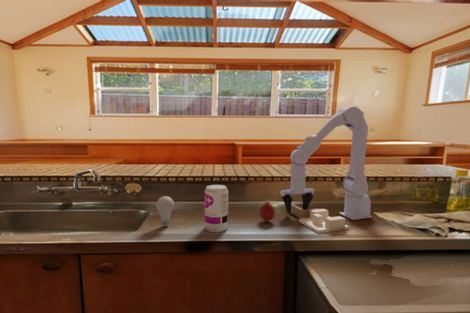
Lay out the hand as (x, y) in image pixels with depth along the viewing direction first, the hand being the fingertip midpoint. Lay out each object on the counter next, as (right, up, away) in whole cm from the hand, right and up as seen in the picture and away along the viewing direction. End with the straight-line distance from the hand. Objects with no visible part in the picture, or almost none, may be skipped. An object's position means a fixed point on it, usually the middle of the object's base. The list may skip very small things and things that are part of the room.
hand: (296, 211), depth 105 cm
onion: (-13, -2, -8) cm, 15 cm away
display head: (+7, -3, -11) cm, 13 cm away
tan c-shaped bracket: (+3, -1, +1) cm, 3 cm away
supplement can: (-32, -3, -15) cm, 35 cm away
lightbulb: (-50, -3, -13) cm, 52 cm away
